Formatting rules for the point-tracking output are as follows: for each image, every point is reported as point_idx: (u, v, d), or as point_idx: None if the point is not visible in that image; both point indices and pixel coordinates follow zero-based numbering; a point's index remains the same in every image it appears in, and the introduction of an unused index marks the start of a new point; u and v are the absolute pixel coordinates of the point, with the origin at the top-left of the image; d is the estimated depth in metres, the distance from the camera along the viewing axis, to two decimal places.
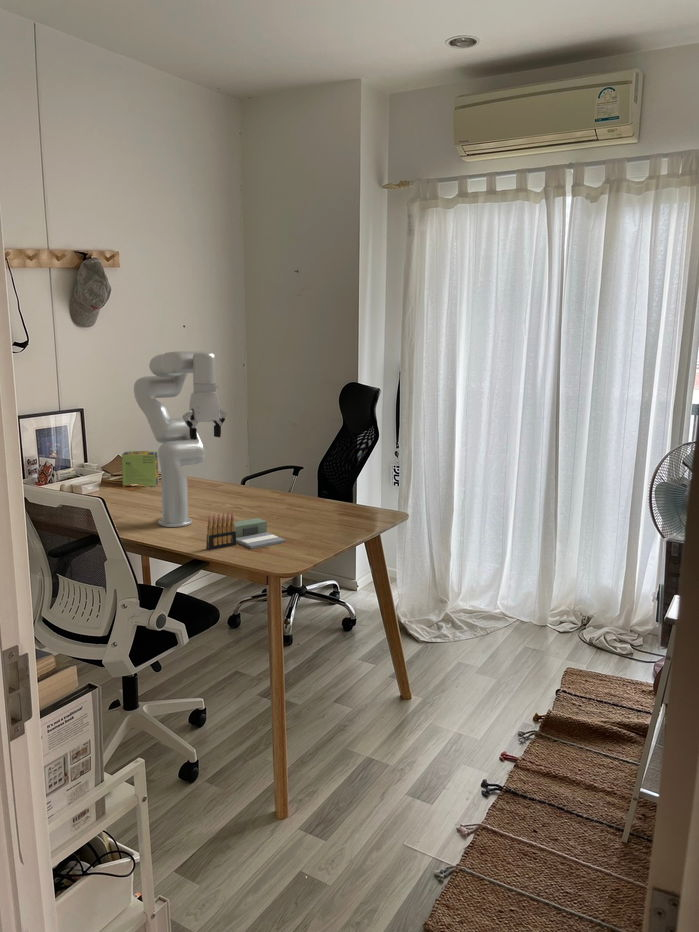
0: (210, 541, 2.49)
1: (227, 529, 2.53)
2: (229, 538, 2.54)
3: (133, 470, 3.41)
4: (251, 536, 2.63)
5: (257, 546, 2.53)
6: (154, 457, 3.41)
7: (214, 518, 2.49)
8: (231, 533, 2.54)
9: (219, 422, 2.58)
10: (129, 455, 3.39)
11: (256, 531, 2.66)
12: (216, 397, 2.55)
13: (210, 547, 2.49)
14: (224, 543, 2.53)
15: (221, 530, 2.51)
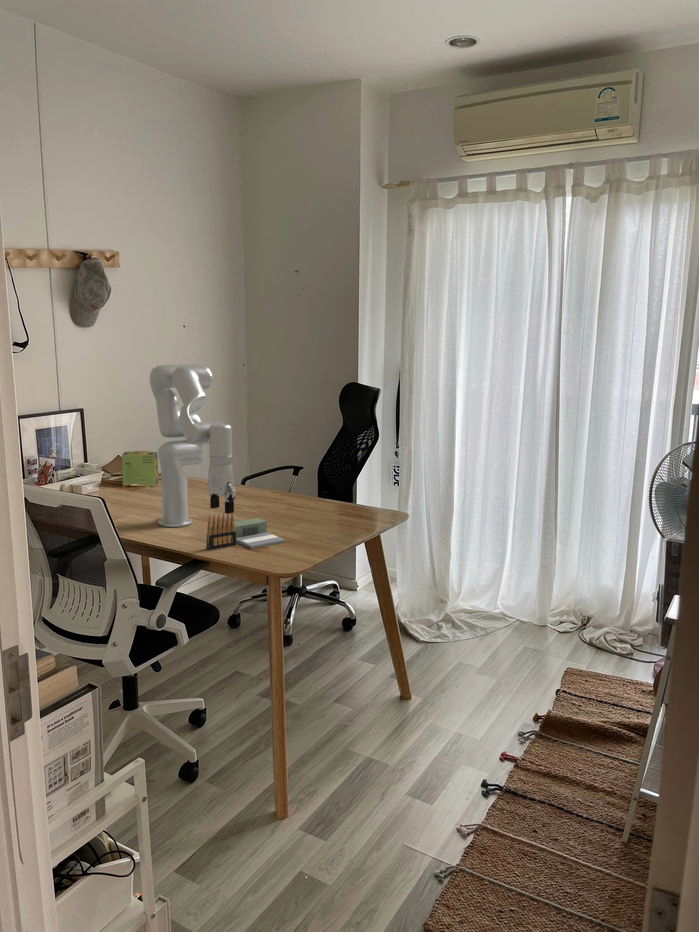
0: (210, 541, 2.49)
1: (227, 529, 2.53)
2: (229, 538, 2.54)
3: (133, 470, 3.41)
4: (251, 536, 2.63)
5: (257, 546, 2.53)
6: (154, 457, 3.41)
7: (214, 518, 2.49)
8: (231, 533, 2.54)
9: None
10: (129, 455, 3.39)
11: (256, 531, 2.66)
12: None
13: (210, 547, 2.49)
14: (224, 543, 2.53)
15: (221, 530, 2.51)
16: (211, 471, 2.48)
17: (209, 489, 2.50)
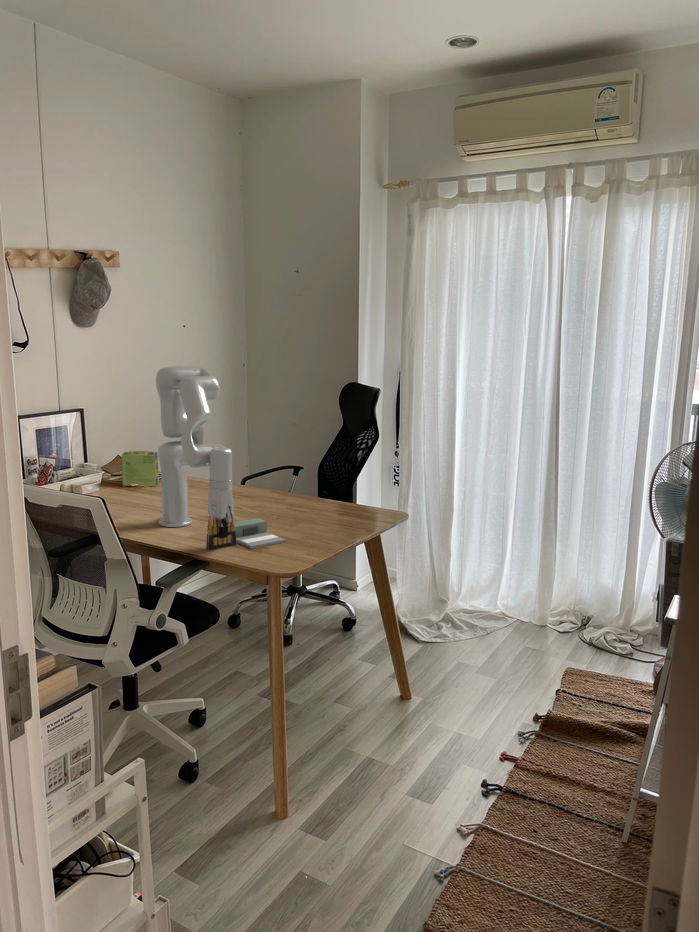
0: (210, 541, 2.49)
1: None
2: (229, 538, 2.54)
3: (133, 470, 3.41)
4: (251, 536, 2.63)
5: (257, 546, 2.53)
6: (154, 457, 3.41)
7: (214, 518, 2.49)
8: (231, 533, 2.54)
9: None
10: (129, 455, 3.39)
11: (256, 531, 2.66)
12: None
13: (210, 547, 2.49)
14: (224, 543, 2.53)
15: None
16: (211, 494, 2.50)
17: (209, 512, 2.52)
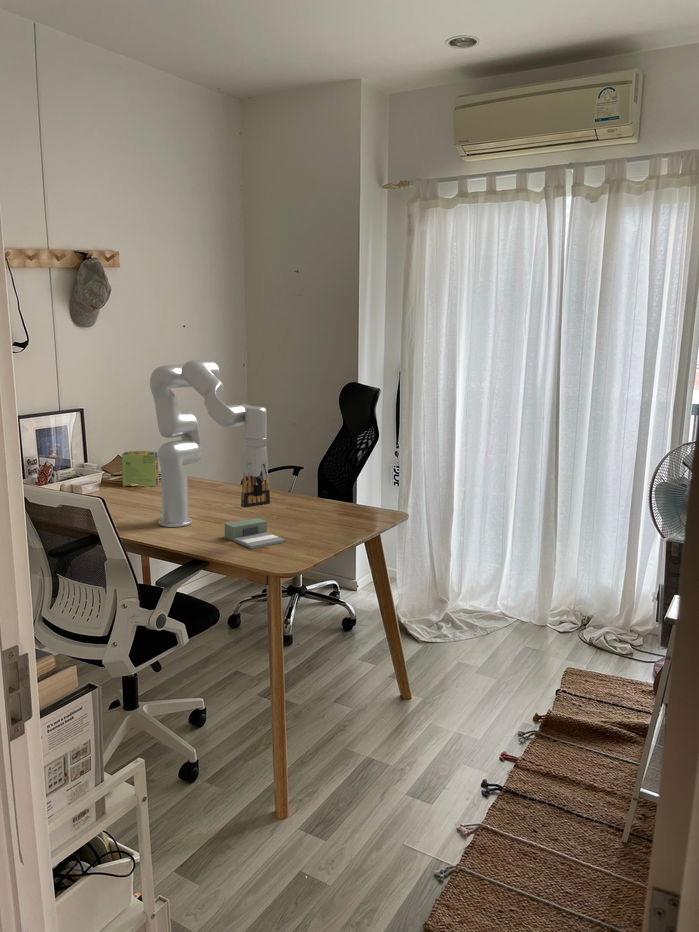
0: (245, 499, 2.53)
1: None
2: (263, 496, 2.57)
3: (133, 470, 3.41)
4: (251, 536, 2.63)
5: (257, 546, 2.53)
6: (154, 457, 3.41)
7: (249, 476, 2.53)
8: (265, 491, 2.57)
9: None
10: (129, 455, 3.39)
11: (256, 531, 2.66)
12: None
13: (245, 505, 2.53)
14: (258, 501, 2.56)
15: None
16: (246, 453, 2.53)
17: (243, 470, 2.56)
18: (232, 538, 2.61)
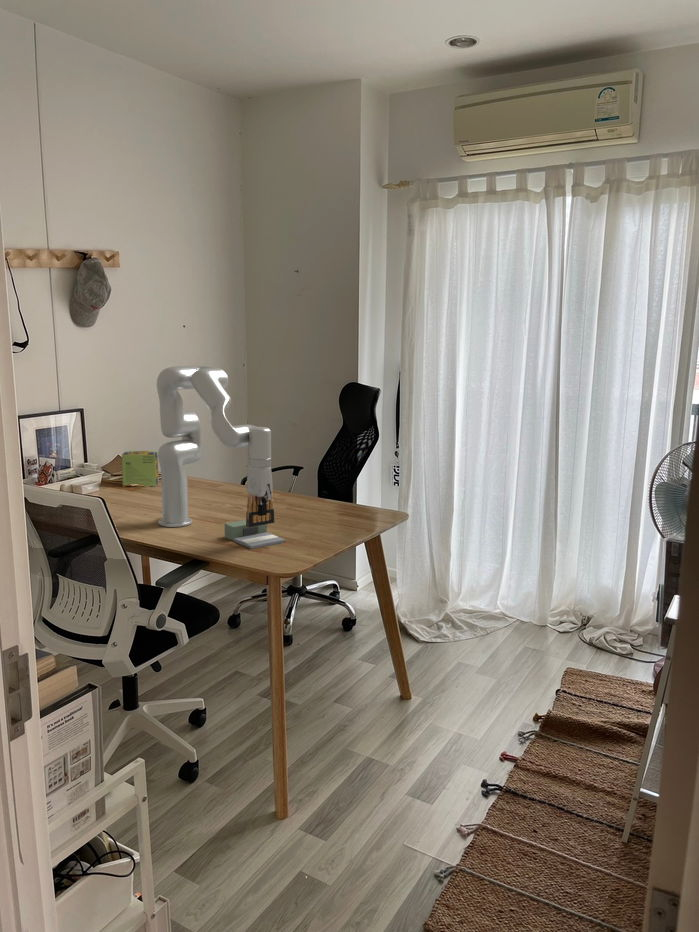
0: (250, 518, 2.55)
1: None
2: (268, 516, 2.59)
3: (133, 470, 3.41)
4: (251, 536, 2.63)
5: (257, 546, 2.53)
6: (154, 457, 3.41)
7: (254, 496, 2.55)
8: (269, 511, 2.59)
9: None
10: (129, 455, 3.39)
11: (256, 531, 2.66)
12: None
13: (250, 524, 2.55)
14: (263, 520, 2.58)
15: None
16: (250, 473, 2.55)
17: (248, 490, 2.58)
18: (232, 538, 2.61)
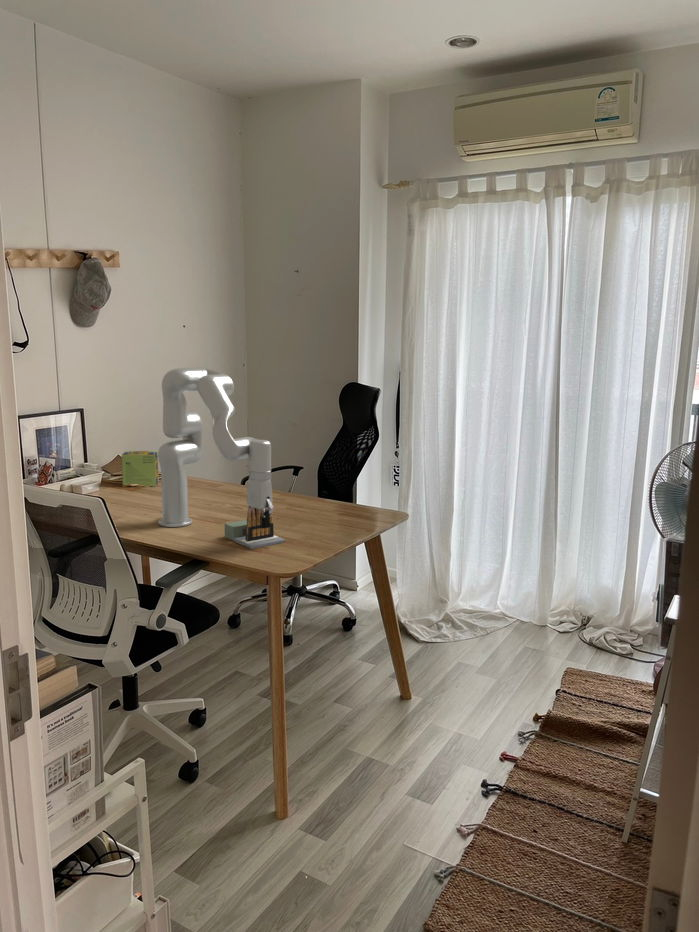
0: (249, 533, 2.56)
1: None
2: (267, 530, 2.61)
3: (133, 470, 3.41)
4: None
5: (257, 546, 2.53)
6: (154, 457, 3.41)
7: (253, 510, 2.56)
8: None
9: None
10: (129, 455, 3.39)
11: None
12: None
13: (249, 538, 2.56)
14: (262, 535, 2.60)
15: (260, 522, 2.58)
16: (250, 485, 2.56)
17: (248, 502, 2.58)
18: (232, 538, 2.61)
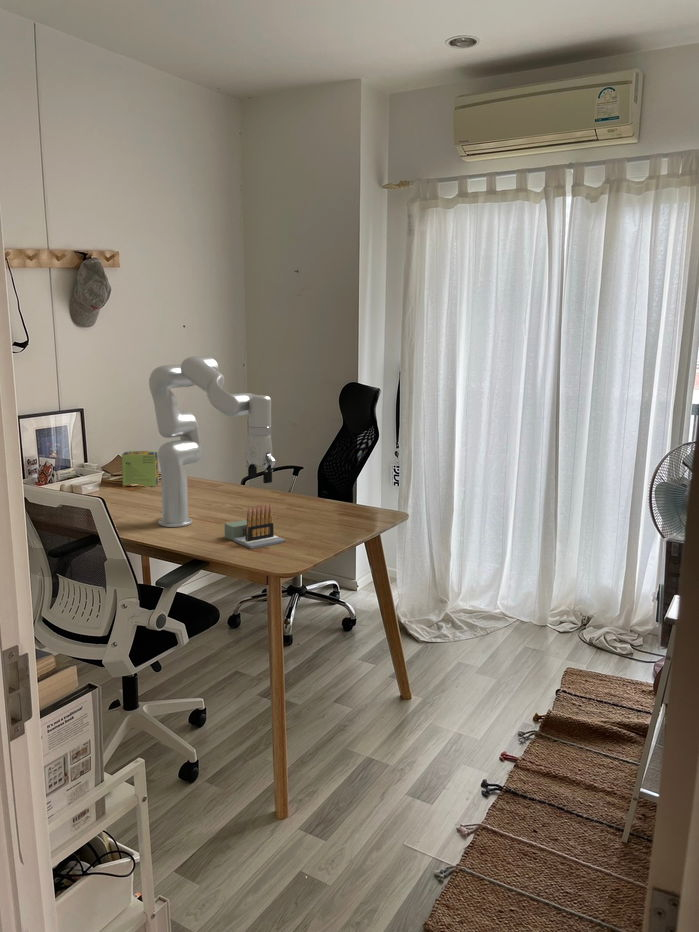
0: (249, 532, 2.56)
1: (265, 521, 2.60)
2: (267, 530, 2.61)
3: (133, 470, 3.41)
4: None
5: (257, 546, 2.53)
6: (154, 457, 3.41)
7: (253, 510, 2.56)
8: (269, 525, 2.61)
9: None
10: (129, 455, 3.39)
11: None
12: None
13: (249, 538, 2.56)
14: (262, 535, 2.60)
15: (259, 522, 2.58)
16: (250, 441, 2.53)
17: (247, 459, 2.56)
18: (232, 538, 2.61)
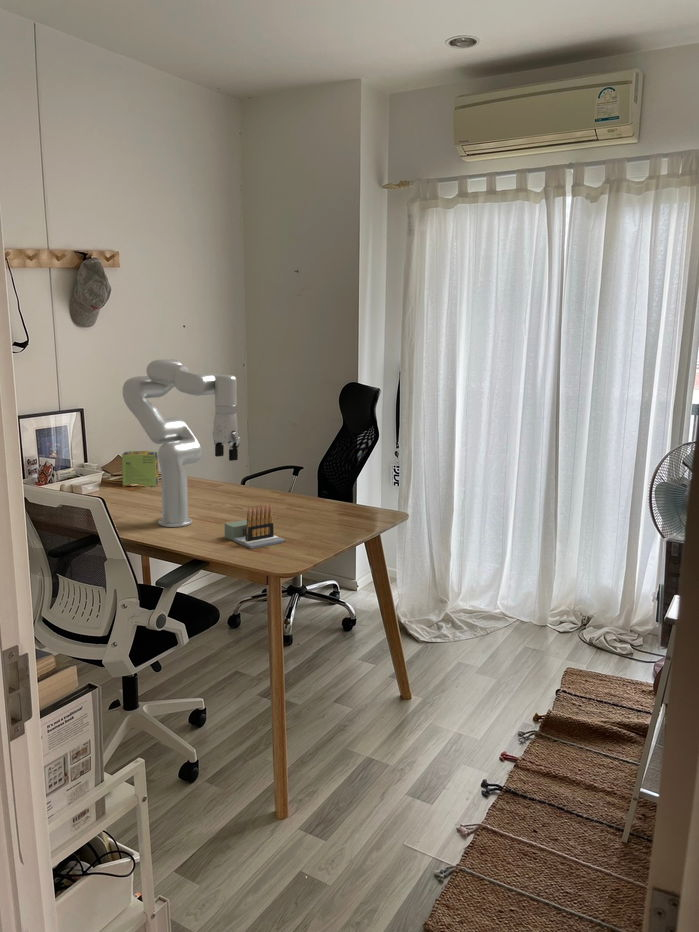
0: (249, 532, 2.56)
1: (265, 521, 2.60)
2: (267, 530, 2.61)
3: (133, 470, 3.41)
4: None
5: (257, 546, 2.53)
6: (154, 457, 3.41)
7: (253, 510, 2.56)
8: (269, 525, 2.61)
9: None
10: (129, 455, 3.39)
11: None
12: None
13: (249, 538, 2.56)
14: (262, 535, 2.60)
15: (259, 522, 2.58)
16: (216, 420, 2.60)
17: (214, 437, 2.62)
18: (232, 538, 2.61)
